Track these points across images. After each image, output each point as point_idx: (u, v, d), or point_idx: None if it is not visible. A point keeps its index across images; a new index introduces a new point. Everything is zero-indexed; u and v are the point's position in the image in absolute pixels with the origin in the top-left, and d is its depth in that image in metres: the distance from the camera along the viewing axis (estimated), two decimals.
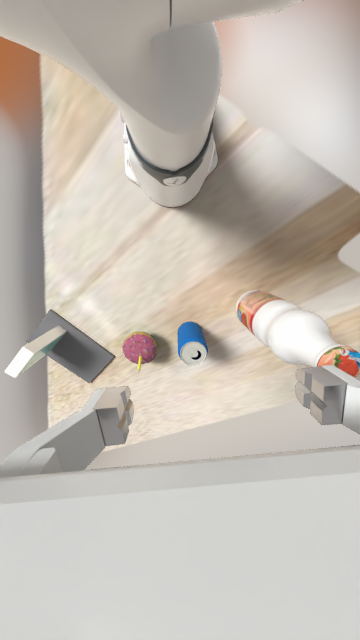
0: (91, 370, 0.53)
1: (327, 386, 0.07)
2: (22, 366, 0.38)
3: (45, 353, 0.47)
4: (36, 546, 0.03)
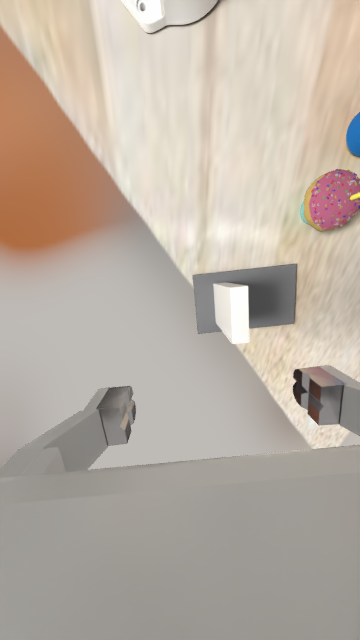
0: (284, 305, 0.37)
1: (324, 386, 0.07)
2: (246, 317, 0.26)
3: None
4: (36, 546, 0.03)
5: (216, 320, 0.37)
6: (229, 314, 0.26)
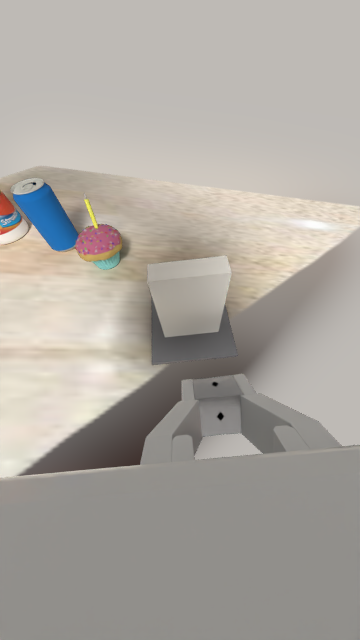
0: None
1: (222, 397, 0.07)
2: (190, 261, 0.19)
3: None
4: (36, 546, 0.03)
5: (214, 329, 0.27)
6: (188, 284, 0.18)
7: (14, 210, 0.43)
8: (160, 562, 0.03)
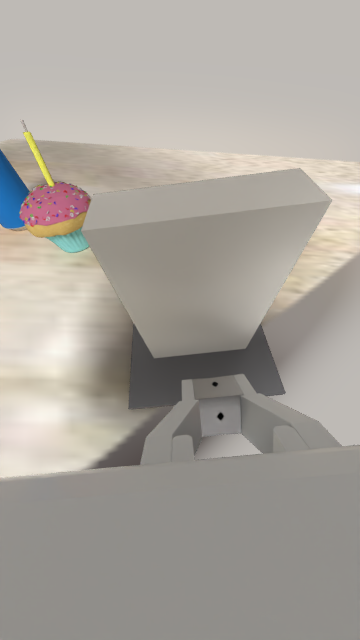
0: None
1: (222, 396, 0.07)
2: (204, 183, 0.07)
3: None
4: (36, 546, 0.03)
5: (239, 345, 0.15)
6: (199, 242, 0.07)
7: None
8: (160, 562, 0.03)
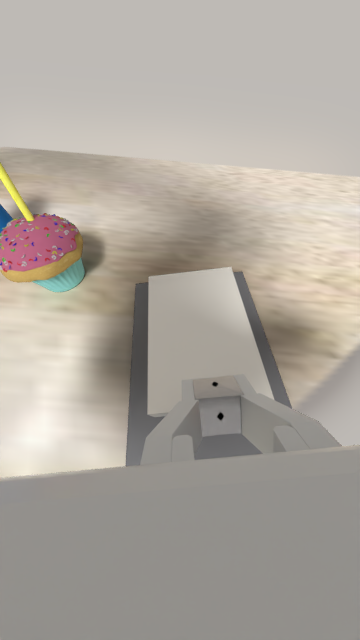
0: None
1: (222, 396, 0.07)
2: None
3: None
4: (36, 546, 0.03)
5: (258, 387, 0.12)
6: (189, 279, 0.17)
7: None
8: (160, 562, 0.03)
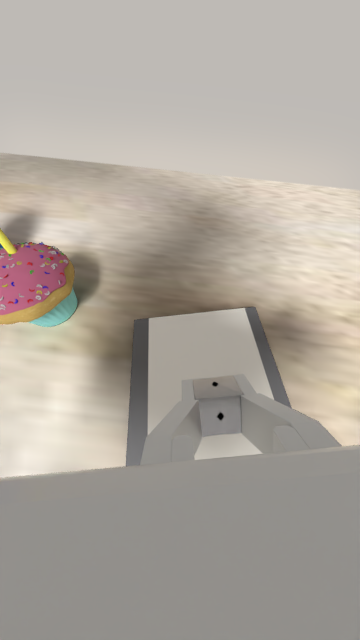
0: None
1: (222, 396, 0.07)
2: None
3: None
4: (36, 546, 0.03)
5: None
6: (196, 323, 0.15)
7: None
8: (160, 562, 0.03)
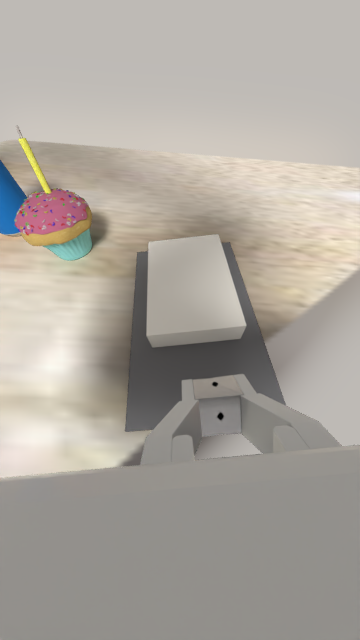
0: None
1: (222, 397, 0.07)
2: None
3: None
4: (36, 546, 0.03)
5: (234, 316, 0.15)
6: (182, 243, 0.20)
7: None
8: (160, 562, 0.03)
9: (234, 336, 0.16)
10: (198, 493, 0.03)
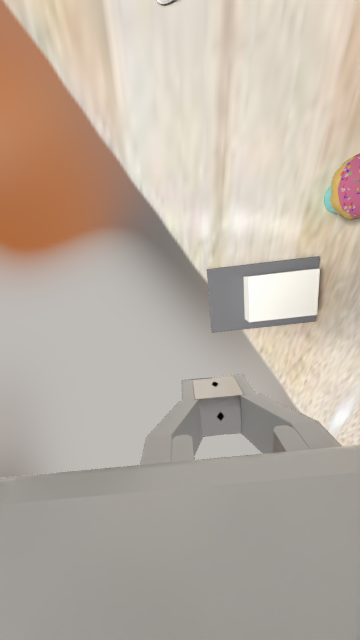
0: None
1: (222, 396, 0.07)
2: None
3: None
4: (36, 546, 0.03)
5: (254, 317, 0.33)
6: (312, 292, 0.32)
7: None
8: (160, 562, 0.03)
9: (246, 316, 0.35)
10: (198, 493, 0.03)
